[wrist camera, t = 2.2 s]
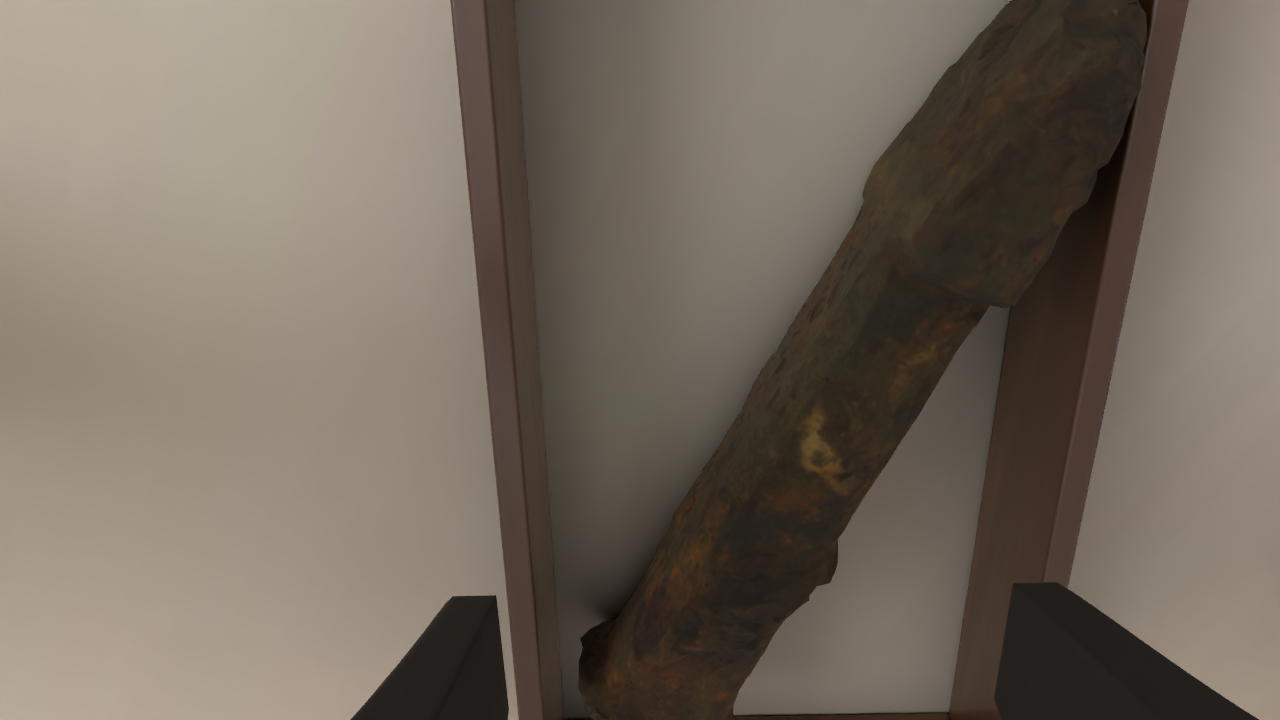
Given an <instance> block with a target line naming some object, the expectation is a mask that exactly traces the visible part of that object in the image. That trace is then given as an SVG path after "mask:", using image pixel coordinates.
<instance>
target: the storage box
mask: <svg viewBox="0 0 1280 720" xmlns="http://www.w3.org/2000/svg"><path fill="white" fill-rule="evenodd" d="M1138 1H1139V3H1140V5H1141V7H1142V9H1143V10H1144V11H1145V13H1146V21H1147V39H1146V43H1145V46H1144V50H1143V53H1144V56H1145V60H1144V63H1143V65H1142V67H1141V90H1140V92H1139V93H1138V95H1137V96H1136V98H1135V100H1134V103H1133V105H1132V108H1131V111H1130V113H1129V116H1128V119H1127V121H1126V124H1125V127H1124V133H1123V136H1122V138H1121V140H1120V142H1119V144H1118V146H1117V147H1116V149H1115V151H1114V153H1113V155H1112V157H1111V159H1110V161H1109V163H1108V164H1106V165H1105V166H1103V167H1101V168H1100V169H1098V172H1097V180H1096V182H1095V185H1094V187H1093V190H1092V192H1091V195H1090V197H1089V199H1088V202H1087V203H1086V204H1084V205H1083V206H1082V207H1080V208H1079V209H1077V210H1076V211H1075V212H1073V213H1072V214H1071V215H1070V216H1069V218H1068V219H1067V221H1066V223H1065V225H1064V227H1063V228H1062V230H1061V232H1060V234H1059V236H1058V238H1057V241H1056V243H1055V246H1054V248H1053V251H1052V253H1051V256H1050V258H1049V259H1048V260H1047V262H1046V263H1045V264H1044V265H1043V267H1042V268H1041V269H1040V271H1039V272H1038V273H1037V275H1036V276H1035V278H1034V280H1033V281H1032V283H1031V284H1030V286H1029V287H1028V289H1027V290H1026V291H1025V292H1024V294H1023V295H1022V296H1021V298H1020V299H1019V300H1018V302H1017V303H1016V304H1015V305H1014V306H1012V307H1011V314H1010V320H1009V327H1008V333H1007V340H1006V346H1005V353H1004V359H1003V366H1002V372H1001V379H1000V386H999V392H998V399H997V405H996V412H995V418H994V425H993V431H992V438H991V444H990V451H989V457H988V464H987V470H986V477H985V484H984V490H983V497H982V503H981V510H980V516H979V523H978V529H977V536H976V542H975V549H974V555H973V562H972V568H971V575H970V581H969V588H968V595H967V601H966V608H965V614H964V621H963V627H962V634H961V640H960V647H959V653H958V660H957V666H956V673H955V679H954V686H953V693H952V699H951V706H950V712H949V715H948V714H947V713H933V714H873V715H812V716H752V717H733V720H1001V717H1000V714H999V711H998V709H997V706H996V703H995V700H994V694H995V688H996V682H997V676H998V670H999V664H1000V658H1001V652H1002V646H1003V640H1004V634H1005V628H1006V622H1007V616H1008V610H1009V603H1010V597H1011V591H1012V585H1013V583H1043V582H1058V583H1059V584H1061V585H1062V586H1064V587H1065V588H1067V589H1068V584H1069V579H1070V574H1071V569H1072V564H1073V560H1074V555H1075V550H1076V545H1077V540H1078V535H1079V531H1080V526H1081V521H1082V516H1083V511H1084V506H1085V501H1086V497H1087V492H1088V487H1089V482H1090V477H1091V472H1092V467H1093V463H1094V458H1095V453H1096V448H1097V443H1098V438H1099V434H1100V429H1101V424H1102V419H1103V414H1104V409H1105V404H1106V400H1107V395H1108V390H1109V385H1110V380H1111V375H1112V371H1113V366H1114V361H1115V356H1116V351H1117V346H1118V341H1119V337H1120V332H1121V327H1122V322H1123V317H1124V312H1125V308H1126V303H1127V298H1128V293H1129V288H1130V283H1131V278H1132V274H1133V269H1134V264H1135V259H1136V254H1137V249H1138V245H1139V240H1140V235H1141V230H1142V225H1143V220H1144V215H1145V211H1146V206H1147V201H1148V196H1149V191H1150V186H1151V182H1152V177H1153V172H1154V167H1155V162H1156V157H1157V152H1158V148H1159V143H1160V138H1161V133H1162V128H1163V123H1164V119H1165V114H1166V109H1167V104H1168V99H1169V94H1170V89H1171V85H1172V80H1173V75H1174V70H1175V65H1176V60H1177V55H1178V51H1179V46H1180V41H1181V36H1182V31H1183V26H1184V22H1185V17H1186V12H1187V7H1188V2H1189V0H1138ZM451 10H452V21H453V32H454V42H455V53H456V63H457V74H458V84H459V95H460V105H461V116H462V126H463V137H464V147H465V158H466V169H467V179H468V190H469V200H470V211H471V221H472V232H473V242H474V253H475V263H476V274H477V284H478V295H479V306H480V316H481V327H482V337H483V348H484V358H485V369H486V379H487V390H488V400H489V411H490V421H491V432H492V443H493V453H494V464H495V474H496V485H497V495H498V506H499V516H500V527H501V537H502V548H503V558H504V569H505V580H506V590H507V601H508V611H509V622H510V632H511V643H512V653H513V664H514V674H515V685H516V695H517V706H518V716H519V720H564V715H563V701H562V686H561V672H560V657H559V643H558V628H557V614H556V599H555V585H554V570H553V555H552V541H551V526H550V512H549V497H548V483H547V468H546V454H545V439H544V425H543V410H542V396H541V381H540V367H539V352H538V338H537V323H536V309H535V294H534V280H533V265H532V251H531V236H530V222H529V207H528V193H527V178H526V164H525V149H524V135H523V120H522V106H521V91H520V77H519V62H518V48H517V33H516V19H515V4H514V0H451ZM572 720H593V719H572Z"/></svg>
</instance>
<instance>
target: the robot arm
mask: <svg viewBox="0 0 1280 720" xmlns="http://www.w3.org/2000/svg"><path fill="white" fill-rule="evenodd" d="M994 700H995V703H996V706H997V709H998V711H999V714H1000V717H1001V720H1259V719H1257V718H1255V717H1254V716H1252V715H1251V714H1249V713H1247V712H1246V711H1244V710H1243V709H1241V708H1240V707H1238V706H1236V705H1235V704H1233V703H1232V702H1230V701H1229V700H1227V699H1226V698H1224V697H1223V696H1221V695H1220V694H1218V693H1217V692H1215V691H1214V690H1212V689H1211V688H1209V687H1208V686H1206V685H1205V684H1203V683H1202V682H1200V681H1199V680H1197V679H1196V678H1195V677H1193V676H1192V675H1190V674H1189V673H1187V672H1186V671H1184V670H1183V669H1181V668H1180V667H1179V666H1177V665H1176V664H1174V663H1173V662H1171V661H1170V660H1168V659H1167V658H1166V657H1164V656H1163V655H1161V654H1160V653H1159V652H1157V651H1156V650H1154V649H1153V648H1151V647H1150V646H1149V645H1147V644H1146V643H1144V642H1143V641H1141V640H1140V639H1139V638H1137V637H1136V636H1134V635H1133V634H1132V633H1130V632H1129V631H1127V630H1126V629H1125V628H1123V627H1122V626H1120V625H1119V624H1118V623H1116V622H1115V621H1113V620H1112V619H1111V618H1109V617H1108V616H1106V615H1105V614H1103V613H1102V612H1101V611H1099V610H1098V609H1096V608H1095V607H1094V606H1092V605H1091V604H1089V603H1088V602H1086V601H1085V600H1083V599H1082V598H1081V597H1079V596H1078V595H1076V594H1075V593H1073V592H1072V591H1070V590H1069V589H1067V588H1065V587H1064V586H1062V585H1061V584H1059V583H1058V582H1043V583H1013V585H1012V591H1011V597H1010V603H1009V610H1008V616H1007V622H1006V628H1005V634H1004V640H1003V646H1002V652H1001V658H1000V664H999V670H998V676H997V682H996V688H995V694H994ZM508 712H509V707H508V698H507V689H506V680H505V671H504V662H503V653H502V644H501V635H500V626H499V617H498V608H497V599H496V595H495V596H453V597H452V598H451V599H450V600H449V601H448V602H447V603H446V604H445V605H444V606H443V608H442V609H441V610H440V612H439V613H438V614H437V615H436V617H435V618H434V619H433V621H432V622H431V623H430V625H429V626H428V627H427V628H426V630H425V631H424V632H423V634H422V635H421V636H420V638H419V639H418V640H417V641H416V643H415V644H414V645H413V646H412V648H411V649H410V650H409V651H408V653H407V654H406V655H405V656H404V658H403V659H402V660H401V661H400V663H399V664H398V665H397V666H396V667H395V669H394V670H393V671H392V672H391V673H390V675H389V676H388V677H387V678H386V679H385V680H384V682H383V683H382V684H381V685H380V686H379V688H378V689H377V690H376V691H375V692H374V693H373V695H372V696H371V697H370V698H369V699H368V701H367V702H366V703H365V704H364V705H363V706H362V707H361V709H360V710H359V711H358V712H357V713H356V714H355V715H354V716H353V717H352V718H351V720H508Z"/></svg>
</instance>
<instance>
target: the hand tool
mask: <svg viewBox="0 0 1280 720" xmlns="http://www.w3.org/2000/svg"><path fill="white" fill-rule="evenodd" d="M1146 39H1147V21H1146V13H1145V11H1144V10H1143V9H1142V7H1141V5H1140V3H1139V1H1138V0H1012V1H1011V2H1009V3H1008V4H1007V5H1006V6H1005V7H1004V8H1003V9H1002V10H1001V12H1000V13H999V14H998V15H997V16H996V18H995V19H994V20H993V21H992V22H991V24H990V25H989V26H988V27H987V28H986V29H985V30H984V31H983V32H982V33H980V34H979V35H978V37H977V38H976V39H975V40H974V42H973V43H972V44H971V45H970V46H969V48H968V49H967V50H966V51H965V53H964V54H963V55H962V56H961V58H960V59H959V60H958V61H957V63H955V64H954V65H952V66H951V67H949V68H948V70H947V71H946V72H945V74H944V75H943V76H942V77H941V79H940V80H939V81H938V83H937V84H936V85H935V87H934V88H933V90H932V92H931V94H930V96H929V98H928V99H927V100H926V102H925V103H924V104H923V106H922V107H921V108H920V109H919V111H918V112H917V113H916V115H915V116H914V117H913V119H912V120H911V121H910V122H909V123H907V124H906V126H905V127H904V128H903V130H902V131H901V132H900V134H899V135H898V136H897V137H896V139H895V140H894V141H893V143H892V144H891V145H890V147H889V148H888V149H887V150H886V152H885V153H884V154H883V155H882V156H881V157H880V159H879V160H878V161H877V162H876V163H875V165H874V167H873V169H872V171H871V173H870V176H869V178H868V180H867V182H866V184H865V188H864V191H863V199H864V202H863V205H862V207H861V209H860V212H859V214H858V216H857V219H856V221H855V223H854V225H853V227H852V229H851V230H850V232H849V233H848V235H847V237H846V238H845V240H844V241H843V243H842V245H841V246H840V248H839V250H838V251H837V253H836V255H835V256H834V258H833V260H832V261H831V263H830V265H829V266H828V268H827V269H826V271H825V273H824V274H823V276H822V277H821V279H820V280H819V282H818V284H817V285H816V287H815V288H814V290H813V292H812V293H811V295H810V296H809V297H808V299H807V300H806V302H805V303H804V305H803V307H802V308H801V310H800V312H799V313H798V315H797V317H796V318H795V320H794V322H793V323H792V325H791V327H790V328H789V330H788V332H787V334H786V335H785V337H784V339H783V340H782V342H781V344H780V346H779V347H778V349H777V351H776V352H775V353H774V354H773V355H772V356H771V357H770V359H769V360H768V362H767V363H766V365H765V366H764V368H763V369H762V371H761V372H760V374H759V376H758V377H757V379H756V381H755V382H754V385H753V387H752V389H751V391H750V393H749V395H748V397H747V399H746V402H745V404H744V406H743V408H742V410H741V412H740V414H739V415H738V417H737V418H736V420H735V422H734V423H733V425H732V426H731V428H730V429H729V431H728V433H727V434H726V436H725V438H724V440H723V441H722V443H721V445H720V447H719V449H718V450H717V451H716V453H715V454H714V455H713V456H712V458H711V459H710V460H709V462H708V463H707V464H706V466H705V467H704V469H703V472H702V473H701V475H700V476H699V478H698V479H697V481H696V482H695V484H694V485H693V487H692V488H691V490H690V491H689V493H688V494H687V496H686V497H685V499H684V500H683V502H682V503H681V505H680V506H679V508H678V509H677V510H676V512H675V513H674V516H673V519H672V522H671V524H670V527H669V530H668V532H667V534H666V535H665V537H664V538H663V540H662V542H661V543H660V545H659V546H658V548H657V551H656V555H655V558H654V559H653V561H652V562H651V564H650V566H649V567H648V569H647V571H646V572H645V574H644V575H643V577H642V579H641V581H640V583H639V585H638V587H637V589H636V591H635V592H634V594H633V595H632V597H631V598H630V600H629V601H628V603H627V604H626V606H625V607H624V609H623V610H622V612H621V613H620V615H619V616H618V618H617V619H615V620H613V619H609V620H606V621H604V622H602V623H601V624H599V625H597V626H595V627H593V628H591V629H590V630H588V631H587V632H586V633H585V634H584V635H583V636H582V637H581V638H580V639H581V643H582V646H583V650H582V653H581V656H580V659H579V690H580V692H581V694H582V696H583V698H584V706H585V709H586V710H587V711H588V712H589V714H590V716H589V717H591V718H592V719H593V720H733V705H734V702H735V699H736V697H737V694H738V691H739V689H740V688H741V686H742V685H743V683H744V682H745V680H746V678H747V677H748V676H749V675H750V674H751V672H752V670H753V669H754V667H755V665H756V664H757V662H758V660H759V659H760V657H761V656H762V655H763V653H764V652H765V650H766V648H767V646H768V644H769V642H770V640H771V639H772V637H773V635H774V634H775V632H776V631H777V629H778V628H779V626H780V625H781V624H782V622H783V621H784V620H785V619H786V618H787V617H788V616H790V615H791V614H792V613H793V612H794V611H795V610H796V609H798V608H799V607H800V606H801V605H803V604H804V603H805V602H807V601H809V595H810V594H811V593H812V592H813V591H814V589H815V588H816V587H817V586H820V585H824V584H828V583H830V582H831V580H832V577H833V575H834V573H835V570H836V566H837V563H838V540H837V539H838V538H839V536H840V535H841V534H842V532H843V531H844V530H845V528H846V526H847V524H848V522H849V521H850V519H851V517H852V515H853V514H854V512H855V511H856V509H857V508H858V506H859V505H860V503H861V501H862V500H863V498H864V496H865V495H866V493H867V492H868V490H869V489H870V487H871V486H872V484H873V483H874V481H875V480H876V478H877V477H878V476H879V474H880V473H881V471H882V470H883V469H884V467H885V466H886V464H887V463H888V461H889V460H890V458H891V456H892V455H893V453H894V451H895V450H896V448H897V446H898V445H899V443H900V441H901V440H902V439H903V437H904V436H905V434H906V433H907V431H908V430H909V428H910V427H911V425H912V424H913V422H914V421H915V419H916V418H917V416H918V415H919V413H920V412H921V410H922V408H923V407H924V405H925V403H926V402H927V400H928V398H929V397H930V395H931V393H932V392H933V390H934V388H935V387H936V385H937V383H938V381H939V380H940V378H941V376H942V375H943V373H944V371H945V370H946V368H947V366H948V365H949V363H950V361H951V359H952V358H953V356H954V354H955V353H956V351H957V350H958V348H959V347H960V346H961V344H962V343H963V341H964V340H965V339H966V337H967V336H968V334H969V333H970V332H971V330H972V329H973V328H974V327H975V326H976V325H977V324H978V323H979V321H980V320H981V318H982V317H983V315H984V314H985V312H986V310H987V309H988V307H989V306H997V307H1001V308H1008V307H1011V306H1014V305H1015V304H1016V303H1017V302H1018V300H1019V299H1020V298H1021V296H1022V295H1023V294H1024V292H1025V291H1026V290H1027V289H1028V287H1029V286H1030V284H1031V283H1032V281H1033V280H1034V278H1035V276H1036V275H1037V273H1038V272H1039V271H1040V269H1041V268H1042V267H1043V265H1044V264H1045V263H1046V262H1047V260H1048V259H1049V258H1050V256H1051V253H1052V251H1053V248H1054V246H1055V243H1056V241H1057V238H1058V236H1059V234H1060V232H1061V230H1062V228H1063V227H1064V225H1065V223H1066V221H1067V219H1068V218H1069V216H1070V215H1071V214H1072V213H1073V212H1075V211H1076V210H1077V209H1079V208H1080V207H1082V206H1083V205H1084V204H1086V203H1087V202H1088V199H1089V197H1090V195H1091V192H1092V190H1093V187H1094V185H1095V182H1096V180H1097V172H1098V169H1100V168H1101V167H1103V166H1105V165H1106V164H1108V163H1109V161H1110V159H1111V157H1112V155H1113V153H1114V151H1115V149H1116V147H1117V146H1118V144H1119V142H1120V140H1121V138H1122V136H1123V133H1124V127H1125V124H1126V121H1127V119H1128V116H1129V113H1130V111H1131V108H1132V105H1133V103H1134V100H1135V98H1136V96H1137V95H1138V93H1139V92H1140V90H1141V67H1142V65H1143V63H1144V60H1145V56H1144V53H1143V50H1144V46H1145V43H1146Z"/></svg>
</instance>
